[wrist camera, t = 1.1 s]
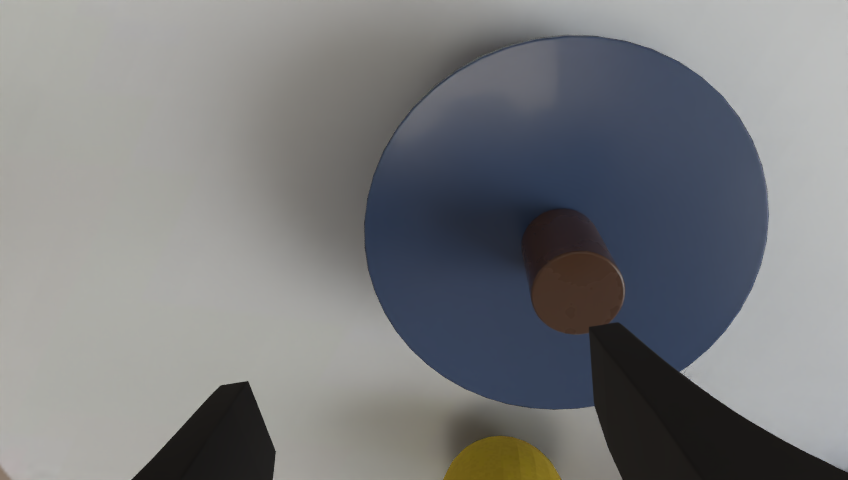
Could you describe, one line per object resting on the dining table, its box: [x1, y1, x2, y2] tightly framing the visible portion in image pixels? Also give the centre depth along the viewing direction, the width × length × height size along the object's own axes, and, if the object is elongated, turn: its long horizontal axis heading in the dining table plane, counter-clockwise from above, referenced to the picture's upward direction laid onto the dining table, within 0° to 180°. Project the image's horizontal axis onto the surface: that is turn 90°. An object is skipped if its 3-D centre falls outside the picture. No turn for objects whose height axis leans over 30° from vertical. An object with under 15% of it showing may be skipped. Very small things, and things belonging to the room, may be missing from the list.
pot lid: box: [364, 35, 769, 410], centre depth 18 cm, size 12×12×5 cm
